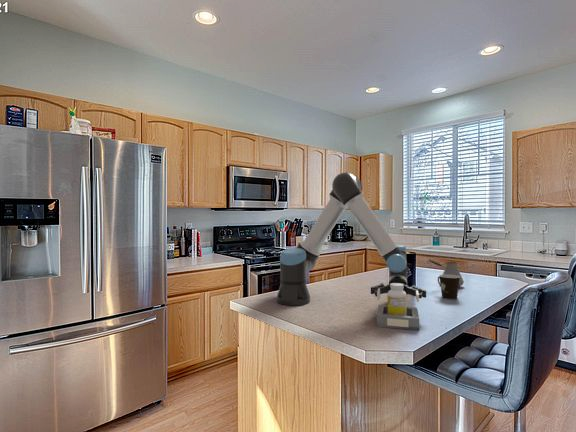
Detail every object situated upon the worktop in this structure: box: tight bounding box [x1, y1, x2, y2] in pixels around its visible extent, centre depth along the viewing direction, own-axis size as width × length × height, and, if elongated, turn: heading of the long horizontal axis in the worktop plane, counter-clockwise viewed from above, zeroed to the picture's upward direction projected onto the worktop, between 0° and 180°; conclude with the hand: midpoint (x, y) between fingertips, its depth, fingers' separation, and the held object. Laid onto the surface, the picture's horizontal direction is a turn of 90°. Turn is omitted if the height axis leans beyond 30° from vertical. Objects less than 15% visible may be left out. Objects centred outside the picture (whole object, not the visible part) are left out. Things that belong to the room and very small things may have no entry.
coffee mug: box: [437, 274, 460, 300], centre depth 159 cm, size 12×9×10 cm
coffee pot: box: [427, 259, 465, 288], centre depth 179 cm, size 21×12×15 cm, turn 109°
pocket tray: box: [376, 304, 420, 331], centre depth 123 cm, size 14×14×4 cm
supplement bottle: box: [386, 283, 408, 316], centre depth 123 cm, size 7×7×13 cm
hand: (397, 297), depth 121 cm, fingers open, 13 cm apart
